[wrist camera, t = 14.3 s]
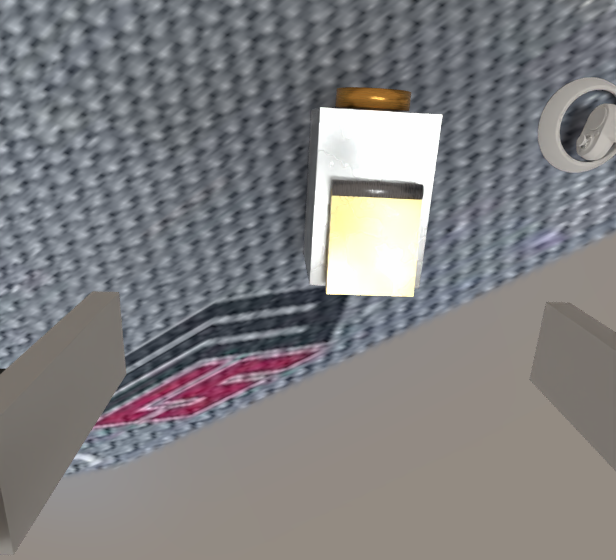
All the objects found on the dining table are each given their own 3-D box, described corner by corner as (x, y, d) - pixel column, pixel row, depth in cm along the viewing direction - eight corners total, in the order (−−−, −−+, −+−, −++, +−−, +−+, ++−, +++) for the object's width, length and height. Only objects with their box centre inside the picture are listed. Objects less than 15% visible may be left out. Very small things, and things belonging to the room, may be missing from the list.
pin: (400, 94, 36) (420, 91, 32) (383, 250, 40) (398, 268, 35) (332, 90, 36) (342, 85, 31) (322, 247, 40) (328, 265, 35)
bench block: (408, 115, 39) (442, 114, 31) (392, 256, 43) (418, 288, 35) (311, 110, 39) (320, 107, 31) (303, 253, 42) (309, 284, 34)
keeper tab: (419, 183, 32) (424, 183, 31) (409, 293, 34) (414, 297, 33) (331, 179, 32) (333, 179, 31) (324, 290, 33) (326, 294, 32)
